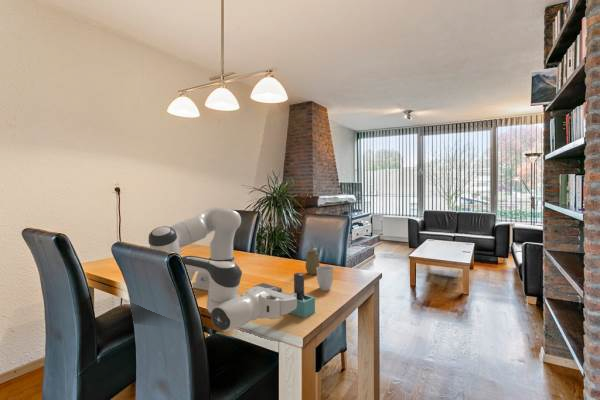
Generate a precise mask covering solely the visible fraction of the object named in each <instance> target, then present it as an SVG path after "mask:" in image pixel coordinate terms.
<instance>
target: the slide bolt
mask: <svg viewBox="0 0 600 400" xmlns="http://www.w3.org/2000/svg"><path fill="white" fill-rule="evenodd" d="M278 292H280V293H283V294H287V295H290V294H291V293H287V292H284V291H282V292H281V291H278ZM293 293H296V294H297V299H298V300H301V301H306V300H308V299H305V298H304V294H305V274H304V273H303V272H296V273H293Z"/></svg>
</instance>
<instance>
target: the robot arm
mask: <svg viewBox="0 0 600 400" xmlns="http://www.w3.org/2000/svg"><path fill="white" fill-rule="evenodd" d="M241 224H242V217H241V215H240V213H239V212H237V211H236V210H234V209H231V208H224V207H211V208H208V209H206V210H205V211H203V212H202V213H200V214H197V215H195V216H194V217H191V218H188V219H186V220H183V221H180V222H177V223H175V224H173V225H171V226H165V225H163V226H159V227H155V228H154V229H153V230H152V231H151V232H150V233H149V234H148V244H149V249H150V248H154V249H159V250H163V251H168V252H174V253H177V254H179V255H180V256H181V258H182V259H183V261H184V264H185V266H186V269H187V272H188V275H189V278H190V281H191V282H192V280H193V278H194V275H195V274H196V272H197V274H196V275H195V276H196V277H195V281H193V282H192V283H191V284H192V285H193V288H192V289H197V290H203V291H207V297H206V298H207V300H206V310H207V311H208V313H209V314H210V320H211V323H212V325H213V327H214V328H215V329H217V330H218V331H221V332H228V331H232V330H236V329H238V328H241V327H243V326H245V325H247V324H249V322H250V321H257V320H258V319H260V320H261V319H262V320H263V319H270V320H277V319H279V318H280V316H284V315H287V314H288V313H289V314H290V312H291V311H293V310H295V309H296V307H297V294H296V293H294V292H291V293H289V294H290V295H287V294H283V293H280V292H278V288H275V287H276V286H275V287H273V288H263V287H260V286H256V285H254V286H255V287H253V286H252V287H251V288H249V289H247V290H245V293H242V294H241V295H239V288H240V283H241V279H242V274H243V271H242V270H241V268H240V266H239V265H238V264H237V263H236V262H235V257H234V240H235V239H234V238H235V235H236V232H237V230H238V229H239V228H240V226H241ZM212 232H214V235H213V238H212V239H211V241H210V242H209V249H210V252H209V253H210V257H208V258H207V257H202V256H201V257H200V256H197V255H184V256H182V251H181V248H184V247H187V246H191V244H194V243H197V242H198V241H201V240H204V239H205V238H206V237H207V236H208V235H209V234H211V233H212Z"/></svg>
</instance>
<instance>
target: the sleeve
mask: <svg viewBox="0 0 600 400" xmlns="http://www.w3.org/2000/svg"><path fill="white" fill-rule="evenodd" d="M255 286H260V287H263V288H273V287H275V288H278V291H281V292H283V288H282V287H278V286H275V285H273V284H268V283H265V282H262V283H258V284H256V285H253V286H252V288H253V287H255Z"/></svg>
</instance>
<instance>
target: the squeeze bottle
mask: <svg viewBox="0 0 600 400" xmlns="http://www.w3.org/2000/svg"><path fill="white" fill-rule="evenodd" d="M317 251H318V249H317V248H316V247H315V243H314V241H311V243H310V247H308V250H307V252H306V256H305V258H306V259H305V270H306V272H307V274H308V275H310V276H314V275H315V276H316V275H317V267H320V266H321V265H320V257H319V252H317Z"/></svg>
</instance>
